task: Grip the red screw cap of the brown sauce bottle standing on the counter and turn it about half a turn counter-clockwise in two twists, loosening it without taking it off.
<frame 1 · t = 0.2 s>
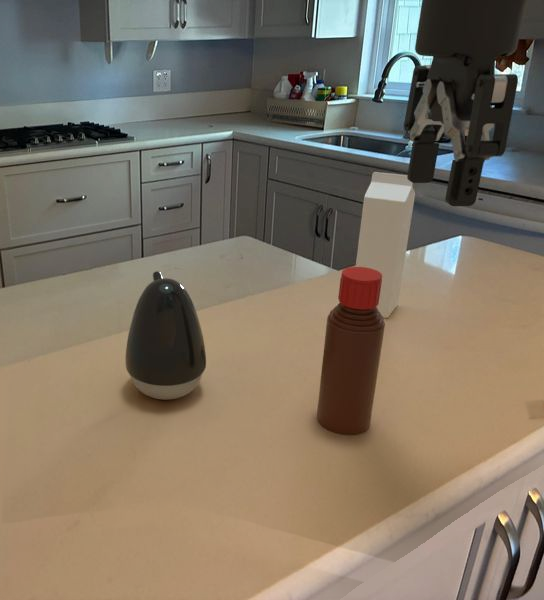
hand: (437, 192, 55), 29 cm above the worktop, tool pointing down, fingers open, 8 cm apart
dark grey egg-shaped piece: (165, 389, 80), on the worktop
cap: (361, 277, 65), point 18 cm above the worktop, screwed on, not yet turned
bottle: (343, 419, 72), on the worktop
milk: (373, 308, 101), on the worktop
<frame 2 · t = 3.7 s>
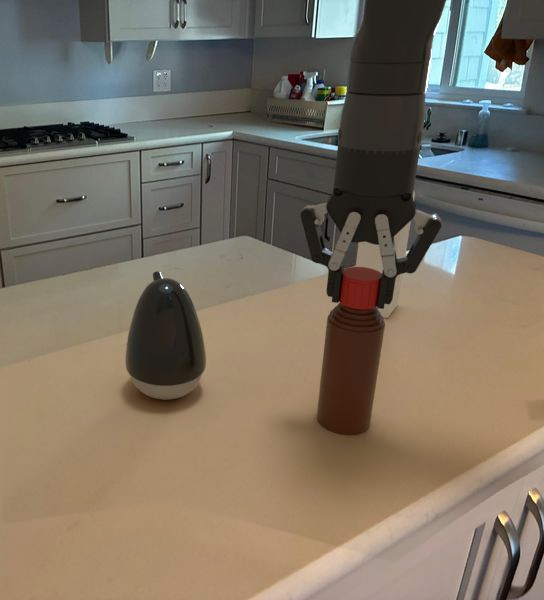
hand: (357, 302, 66), 15 cm above the worktop, tool pointing down, fingers closed on cap, 4 cm apart
cap: (361, 277, 65), point 18 cm above the worktop, screwed on, not yet turned, touching gripper
everything else where it was.
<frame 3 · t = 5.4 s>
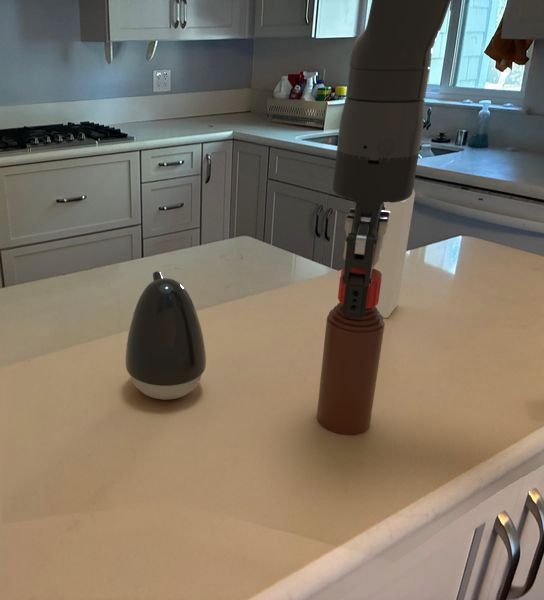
hand: (355, 306, 66), 15 cm above the worktop, tool pointing down, fingers closed on cap, 4 cm apart
cap: (360, 276, 65), point 18 cm above the worktop, turned 90° so far, risen 0.1 cm, still on its thread, touching gripper
bottle: (343, 419, 72), on the worktop, touching gripper
everything else where it was.
when the fingers open (15 cm above the worktop, at t = 8.2 s): cap stays where it is, point 18 cm above the worktop.
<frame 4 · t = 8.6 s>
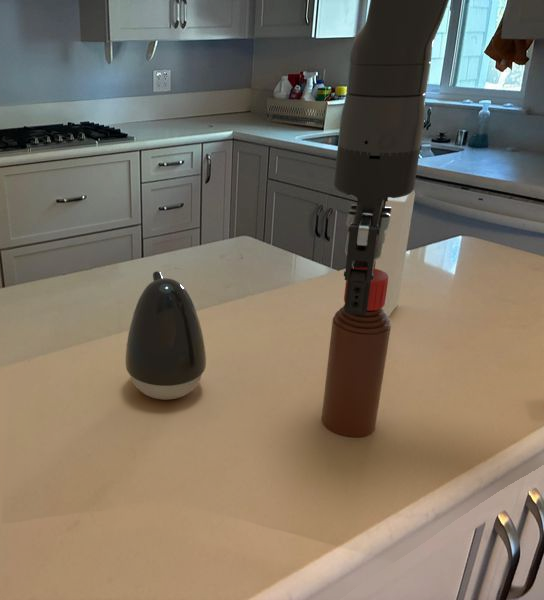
hand: (358, 300, 66), 15 cm above the worktop, tool pointing down, fingers open, 6 cm apart
cap: (367, 277, 65), point 18 cm above the worktop, turned 90° so far, risen 0.1 cm, still on its thread
bottle: (348, 421, 72), on the worktop
everything else where it was.
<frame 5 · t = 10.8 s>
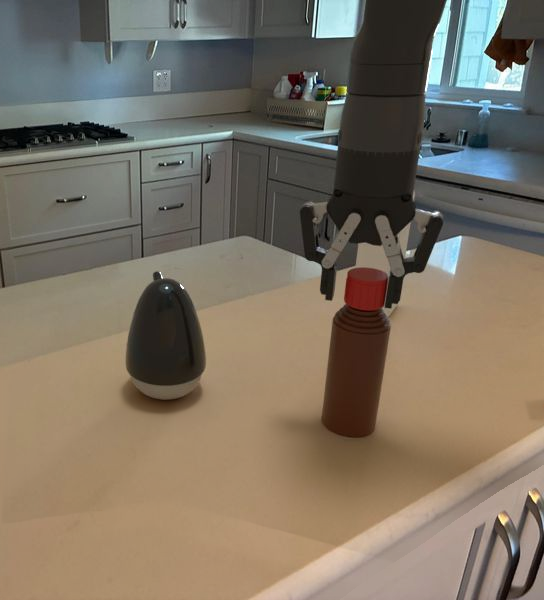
hand: (358, 301, 66), 15 cm above the worktop, tool pointing down, fingers open, 5 cm apart
nothing on the worktop moved.
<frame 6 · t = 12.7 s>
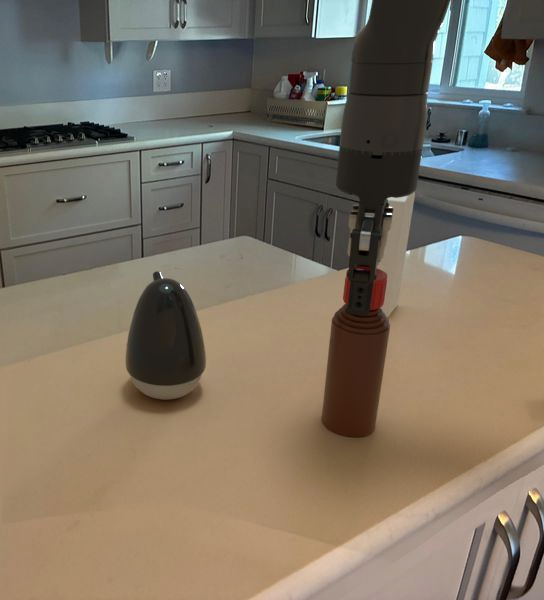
hand: (360, 304, 66), 15 cm above the worktop, tool pointing down, fingers closed on cap, 4 cm apart
cap: (366, 277, 64), point 18 cm above the worktop, turned 180° so far, risen 0.2 cm, still on its thread, touching gripper
everything else where it was.
when the fingers open (15 cm above the worktop, at t = 12.9 s): cap stays where it is, point 18 cm above the worktop.
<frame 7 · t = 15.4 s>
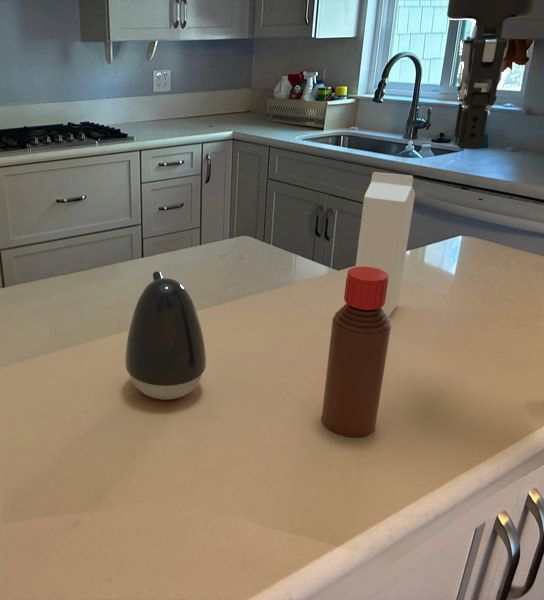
hand: (466, 142, 65), 31 cm above the worktop, tool pointing down, fingers open, 6 cm apart
cap: (367, 276, 65), point 18 cm above the worktop, turned 179° so far, risen 0.2 cm, still on its thread
everything else where it was.
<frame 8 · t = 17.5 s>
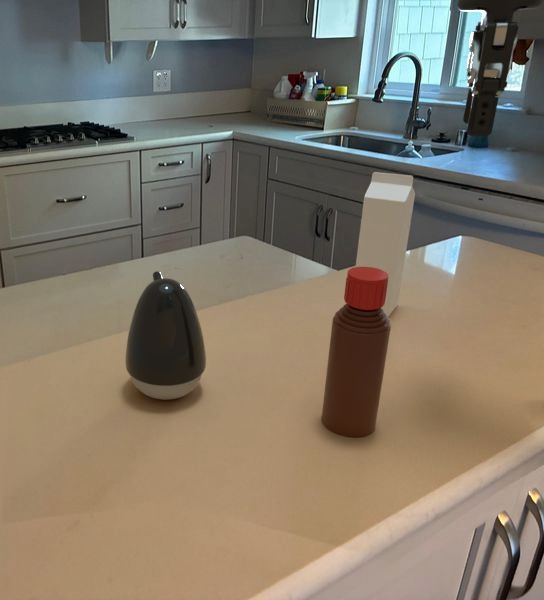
hand: (475, 129, 65), 32 cm above the worktop, tool pointing down, fingers open, 8 cm apart
nothing on the worktop moved.
at the end: cap turned 0.50 turns (still on its thread); cap is still on its thread (0.50 turns); bottle tilted 0° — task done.
